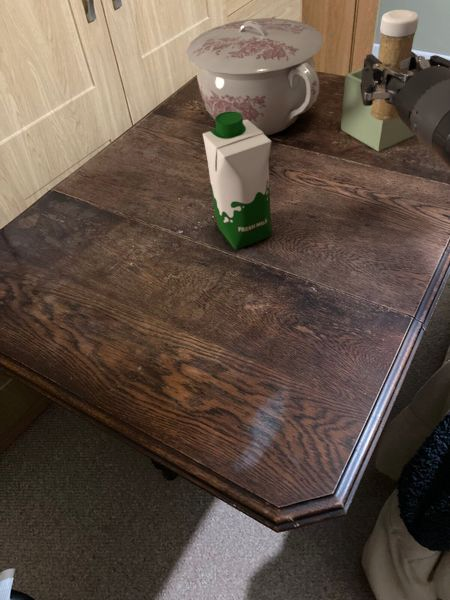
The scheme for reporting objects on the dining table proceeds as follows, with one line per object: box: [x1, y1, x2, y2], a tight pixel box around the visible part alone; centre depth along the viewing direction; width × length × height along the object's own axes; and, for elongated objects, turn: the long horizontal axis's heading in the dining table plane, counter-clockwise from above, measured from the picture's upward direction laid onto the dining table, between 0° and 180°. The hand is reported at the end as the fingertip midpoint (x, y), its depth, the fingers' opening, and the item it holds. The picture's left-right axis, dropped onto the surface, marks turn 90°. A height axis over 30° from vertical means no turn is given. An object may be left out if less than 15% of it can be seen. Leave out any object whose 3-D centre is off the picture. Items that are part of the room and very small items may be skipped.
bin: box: [340, 67, 416, 152], centre depth 98 cm, size 11×11×12 cm
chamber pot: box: [185, 17, 324, 137], centre depth 103 cm, size 28×28×21 cm
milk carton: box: [202, 111, 273, 251], centre depth 77 cm, size 9×9×20 cm
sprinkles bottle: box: [370, 9, 419, 121], centre depth 68 cm, size 5×5×13 cm
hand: (384, 58), depth 70 cm, fingers closed on sprinkles bottle, 4 cm apart
